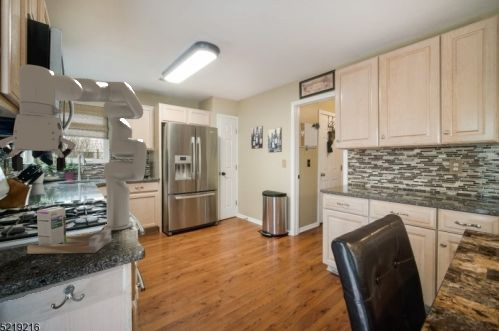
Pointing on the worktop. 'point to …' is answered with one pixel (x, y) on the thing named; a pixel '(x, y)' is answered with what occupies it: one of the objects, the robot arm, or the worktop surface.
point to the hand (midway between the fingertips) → (39, 170)
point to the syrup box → (51, 226)
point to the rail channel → (75, 244)
